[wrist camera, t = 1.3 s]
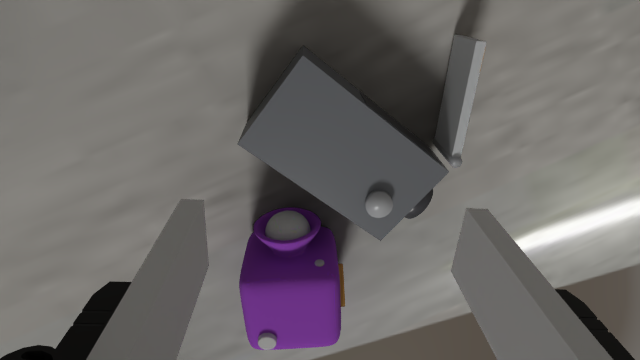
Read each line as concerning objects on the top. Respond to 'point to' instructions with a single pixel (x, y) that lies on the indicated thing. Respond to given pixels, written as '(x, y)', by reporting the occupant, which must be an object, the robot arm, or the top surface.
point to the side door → (458, 97)
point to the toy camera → (291, 282)
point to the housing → (342, 147)
